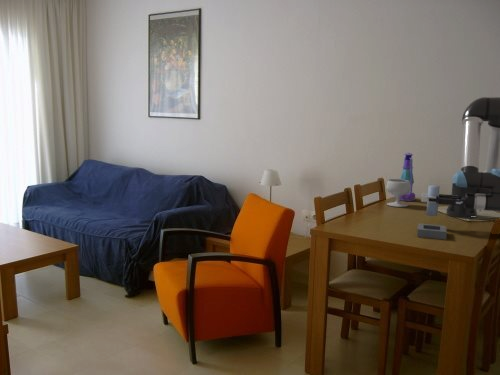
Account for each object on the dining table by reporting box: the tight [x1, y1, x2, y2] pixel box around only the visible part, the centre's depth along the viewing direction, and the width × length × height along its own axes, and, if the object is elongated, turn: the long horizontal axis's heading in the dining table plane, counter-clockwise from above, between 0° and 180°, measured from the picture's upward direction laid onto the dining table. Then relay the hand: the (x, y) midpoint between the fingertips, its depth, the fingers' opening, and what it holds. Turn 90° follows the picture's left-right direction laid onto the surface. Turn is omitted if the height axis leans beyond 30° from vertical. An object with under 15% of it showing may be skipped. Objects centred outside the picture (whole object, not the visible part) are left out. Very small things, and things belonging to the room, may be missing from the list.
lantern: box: [399, 152, 416, 202], centre depth 297 cm, size 13×12×30 cm
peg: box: [425, 184, 441, 217], centre depth 226 cm, size 5×5×14 cm
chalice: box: [385, 178, 411, 208], centre depth 280 cm, size 14×14×15 cm
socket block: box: [416, 222, 448, 241], centre depth 215 cm, size 12×12×4 cm
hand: (421, 197), depth 228 cm, fingers closed on peg, 5 cm apart
